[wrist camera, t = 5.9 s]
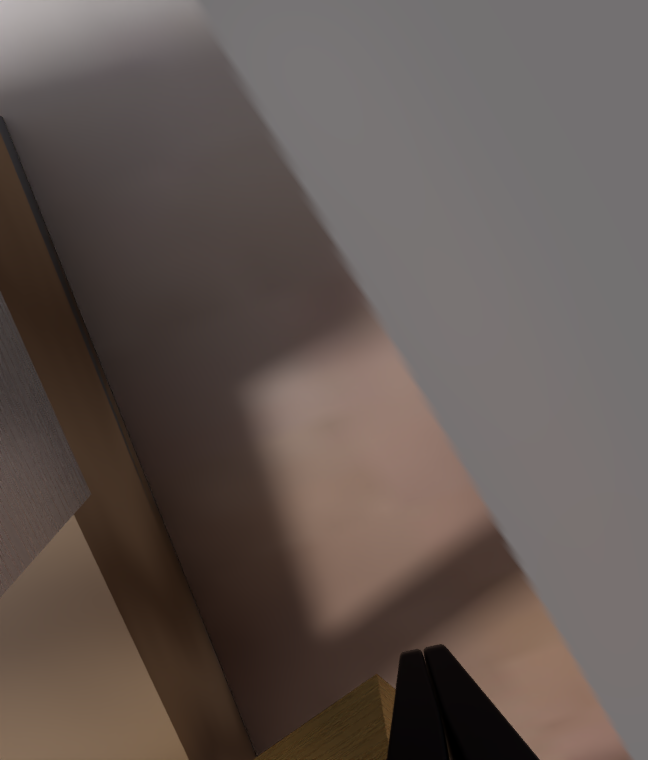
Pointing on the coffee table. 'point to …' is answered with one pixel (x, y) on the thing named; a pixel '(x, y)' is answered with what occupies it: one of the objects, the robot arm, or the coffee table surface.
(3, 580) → the grey squarish block
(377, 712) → the lever
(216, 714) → the body
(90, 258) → the coffee table surface
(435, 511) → the coffee table surface
